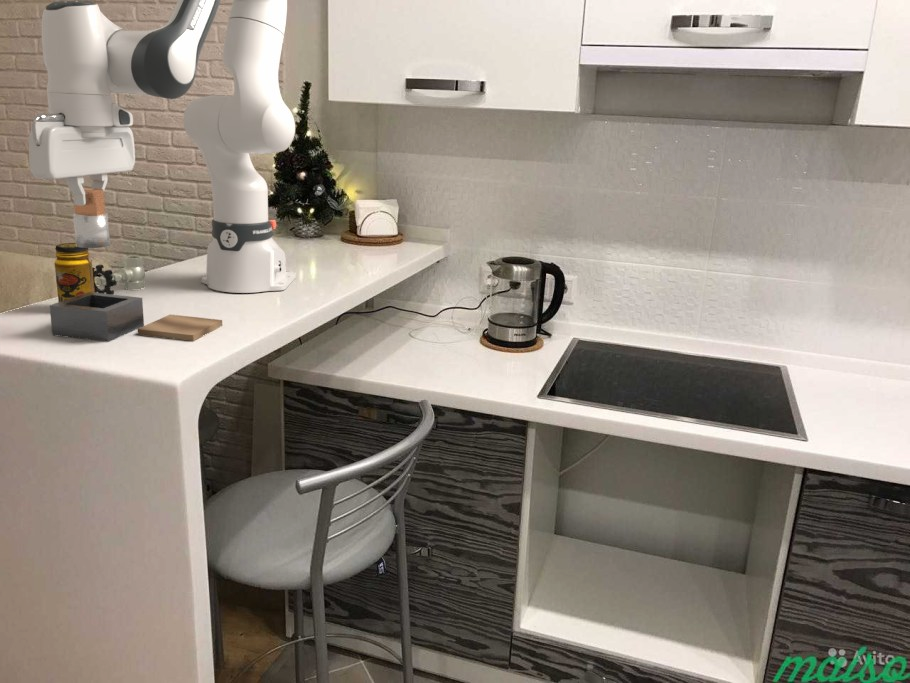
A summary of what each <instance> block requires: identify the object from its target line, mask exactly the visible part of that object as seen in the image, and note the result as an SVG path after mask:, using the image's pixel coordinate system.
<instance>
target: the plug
mask: <svg viewBox="0 0 910 683" xmlns="http://www.w3.org/2000/svg"><path fill="white" fill-rule="evenodd" d="M83 189H84V191H85V193H87V194H89V200H90V203H89V204H88V205H84V206H79V205H75V204H74V203H73V205H74V213H73V214H72V217H73V219H72V220H73V227H74V237H75V239H74V240H75V243H76V246H77V247H82V248H88V249H95V248H96V249H97V248H105V247H109V246H111V241H110V240H111V238H110V228H109V217H108V213H107V212H106V203H105V193H104V192H105V190H104V191H103V189H94V188H92V187H83Z"/></svg>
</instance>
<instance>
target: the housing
mask: <svg viewBox="0 0 910 683" xmlns="http://www.w3.org/2000/svg"><path fill="white" fill-rule="evenodd" d="M143 303H144V302H143V297H138V296H130V295H119V294H113V295H112V294H106V293H104V294H102V293H98V292H96V293H93V292H88V293H85V294H82V295H79V296H76V297H73V298H70V299H67V300H64V301H61V302H58V301H57V302H56V303H55V302H54V303H53V304H49V313H50V314H49V315H50V323H51V324H50V325H51V332H52V334H51V335H52V336H55V335H58V336H57V337H63V336H68V337H67V338H72V337H73V339H81V340H83V339H84V340H89V339H90V341H99V342H108V343H109V342H111V341H113V340H115V338H116V339H117V338H119V337H122V336H124V334H125V335H127V334H129V333H132V332H133V330H134V331H136V330H138V328H141V327H142V326H145V319H144V318H145V317H144V304H143ZM135 329H136V330H135Z"/></svg>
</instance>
